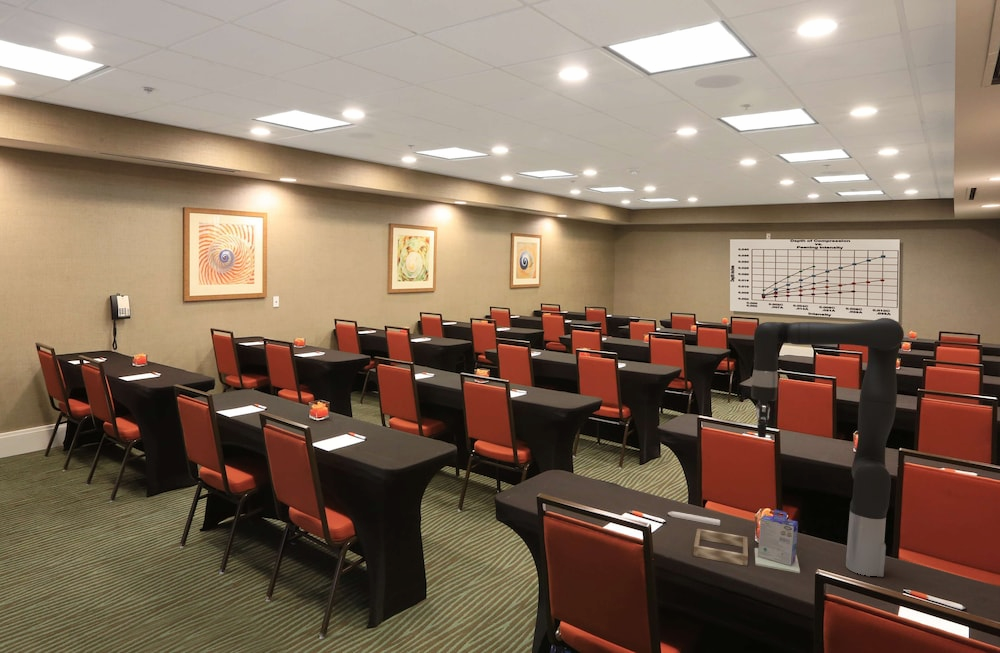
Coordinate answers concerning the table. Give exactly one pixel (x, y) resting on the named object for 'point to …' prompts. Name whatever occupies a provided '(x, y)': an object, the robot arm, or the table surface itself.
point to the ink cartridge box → (778, 538)
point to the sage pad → (776, 564)
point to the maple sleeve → (721, 554)
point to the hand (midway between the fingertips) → (761, 434)
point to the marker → (695, 518)
